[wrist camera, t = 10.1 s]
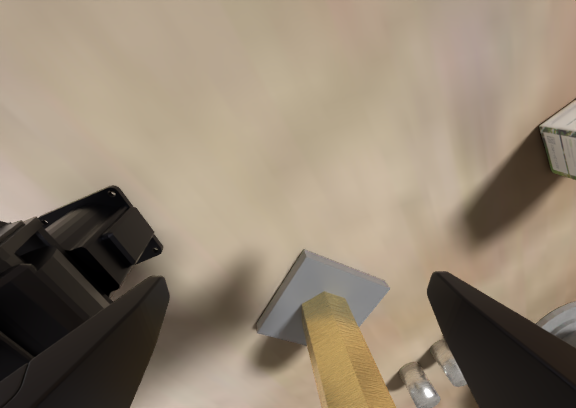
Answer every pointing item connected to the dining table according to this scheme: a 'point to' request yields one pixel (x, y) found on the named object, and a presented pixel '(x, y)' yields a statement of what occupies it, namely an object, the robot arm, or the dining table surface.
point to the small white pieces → (561, 141)
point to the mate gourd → (561, 323)
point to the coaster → (309, 283)
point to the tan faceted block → (341, 356)
